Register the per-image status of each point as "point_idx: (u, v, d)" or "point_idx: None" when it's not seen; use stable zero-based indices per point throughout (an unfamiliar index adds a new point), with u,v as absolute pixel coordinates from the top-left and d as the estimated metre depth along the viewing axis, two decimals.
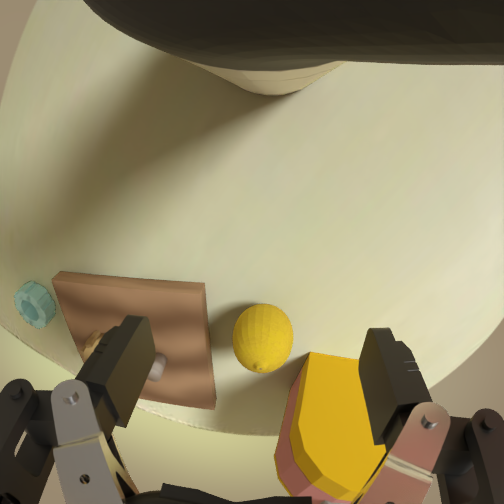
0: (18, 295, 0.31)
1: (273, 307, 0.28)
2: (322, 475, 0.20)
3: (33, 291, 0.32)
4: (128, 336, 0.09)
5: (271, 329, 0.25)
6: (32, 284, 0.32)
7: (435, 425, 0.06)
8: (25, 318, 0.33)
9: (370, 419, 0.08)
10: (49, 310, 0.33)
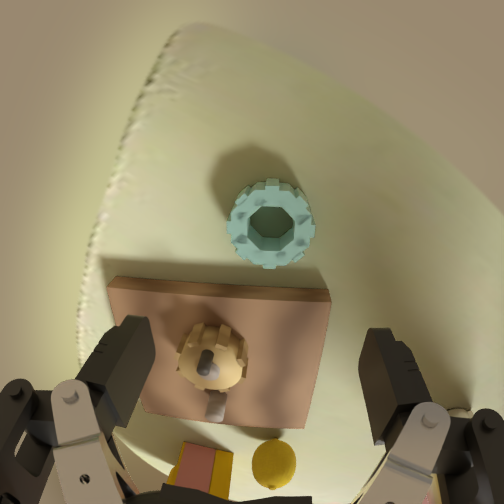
0: (304, 213, 0.20)
1: None
2: None
3: None
4: (128, 336, 0.09)
5: None
6: None
7: (435, 425, 0.06)
8: (244, 200, 0.20)
9: (370, 419, 0.08)
10: None
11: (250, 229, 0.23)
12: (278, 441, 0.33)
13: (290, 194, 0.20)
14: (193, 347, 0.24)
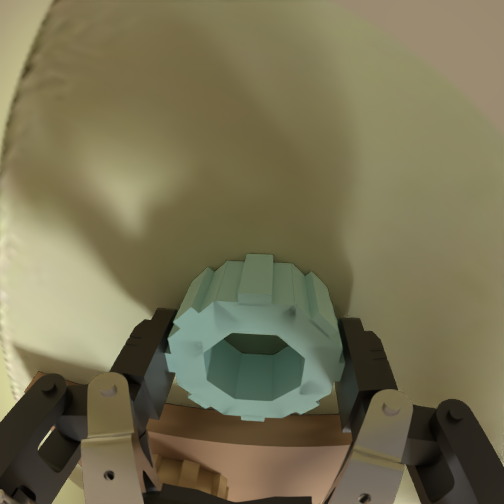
0: (326, 345, 0.09)
1: None
2: None
3: None
4: (162, 328, 0.10)
5: None
6: None
7: (396, 412, 0.06)
8: (194, 320, 0.09)
9: (339, 407, 0.09)
10: None
11: (217, 348, 0.12)
12: None
13: (298, 311, 0.08)
14: None
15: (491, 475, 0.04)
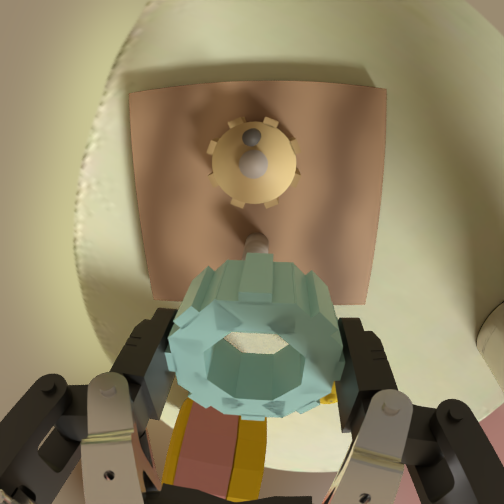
0: (326, 344, 0.09)
1: None
2: None
3: None
4: (162, 328, 0.10)
5: None
6: None
7: (396, 412, 0.06)
8: (194, 318, 0.09)
9: (339, 407, 0.09)
10: None
11: (217, 347, 0.12)
12: None
13: (298, 310, 0.08)
14: (235, 127, 0.18)
15: (491, 475, 0.04)
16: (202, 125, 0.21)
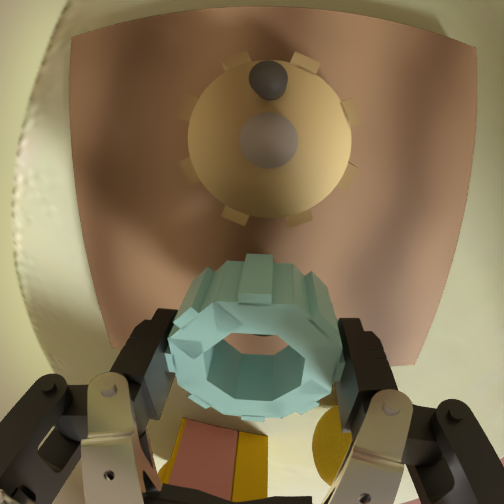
0: (326, 345, 0.09)
1: None
2: None
3: None
4: (162, 328, 0.10)
5: None
6: None
7: (396, 412, 0.06)
8: (194, 320, 0.09)
9: (339, 407, 0.09)
10: None
11: (217, 348, 0.12)
12: None
13: (298, 311, 0.08)
14: (235, 69, 0.09)
15: (491, 475, 0.04)
16: (179, 77, 0.11)
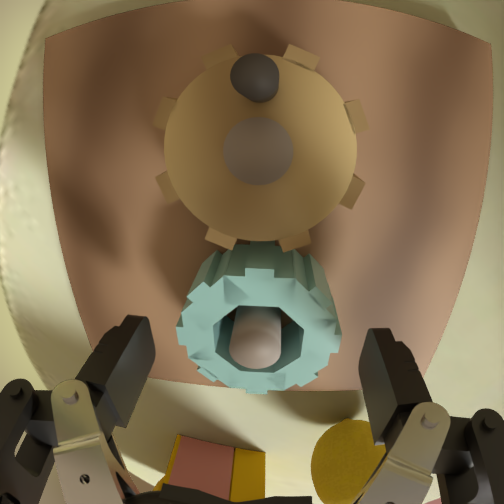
0: (323, 317, 0.10)
1: None
2: None
3: None
4: (128, 336, 0.09)
5: None
6: None
7: (435, 425, 0.06)
8: (205, 294, 0.10)
9: (370, 419, 0.08)
10: None
11: (224, 325, 0.13)
12: (360, 421, 0.17)
13: (297, 284, 0.10)
14: (217, 66, 0.07)
15: None
16: (158, 78, 0.10)
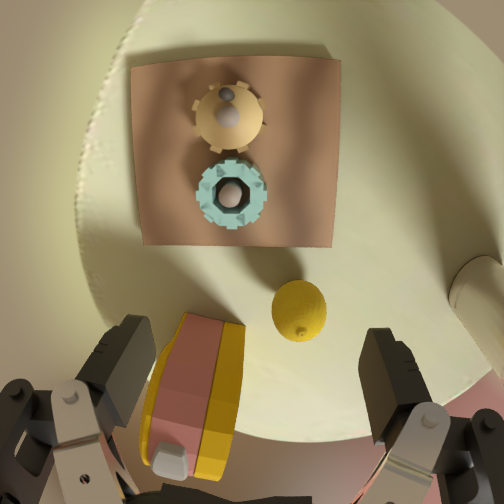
0: (257, 181, 0.25)
1: None
2: (230, 434, 0.23)
3: None
4: (128, 336, 0.09)
5: None
6: None
7: (435, 425, 0.06)
8: (209, 173, 0.25)
9: (370, 419, 0.08)
10: None
11: (216, 198, 0.28)
12: None
13: (245, 166, 0.25)
14: (214, 89, 0.22)
15: None
16: (189, 91, 0.24)
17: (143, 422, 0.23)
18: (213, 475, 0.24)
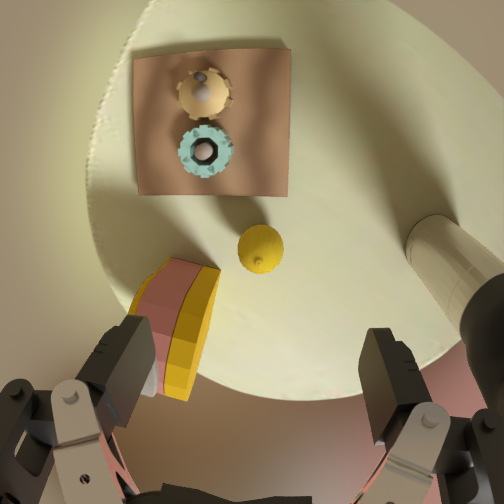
0: (223, 140, 0.32)
1: None
2: (194, 343, 0.30)
3: None
4: (128, 336, 0.09)
5: (280, 260, 0.37)
6: (232, 153, 0.35)
7: (435, 425, 0.06)
8: (188, 135, 0.32)
9: (370, 419, 0.08)
10: None
11: (194, 156, 0.35)
12: None
13: (214, 129, 0.32)
14: (192, 74, 0.29)
15: None
16: (176, 77, 0.32)
17: None
18: (179, 388, 0.31)
